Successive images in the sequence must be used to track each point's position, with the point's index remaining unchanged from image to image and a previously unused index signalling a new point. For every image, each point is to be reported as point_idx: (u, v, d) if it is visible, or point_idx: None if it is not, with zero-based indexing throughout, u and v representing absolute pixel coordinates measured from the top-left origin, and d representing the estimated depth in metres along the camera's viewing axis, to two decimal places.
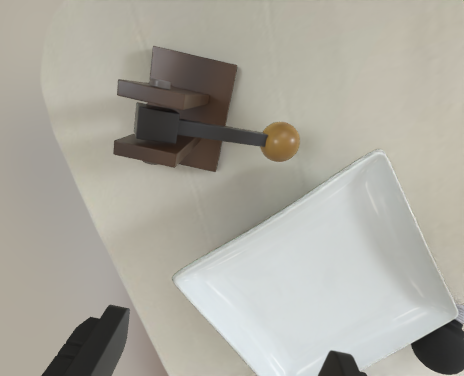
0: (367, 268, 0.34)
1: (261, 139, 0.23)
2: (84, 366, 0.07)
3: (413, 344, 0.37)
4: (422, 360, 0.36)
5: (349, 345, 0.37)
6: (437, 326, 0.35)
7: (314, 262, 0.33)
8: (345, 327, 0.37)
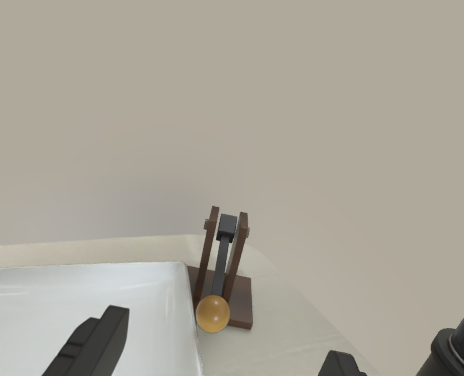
0: None
1: (217, 291, 0.29)
2: (84, 366, 0.07)
3: None
4: None
5: None
6: None
7: None
8: None
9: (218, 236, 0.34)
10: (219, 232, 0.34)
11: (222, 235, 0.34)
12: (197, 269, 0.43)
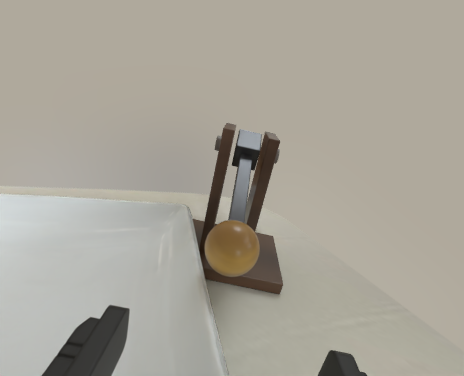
0: None
1: (238, 217, 0.18)
2: (84, 366, 0.07)
3: None
4: None
5: None
6: None
7: (17, 360, 0.13)
8: None
9: (235, 158, 0.24)
10: (237, 150, 0.23)
11: (241, 154, 0.24)
12: (203, 223, 0.32)
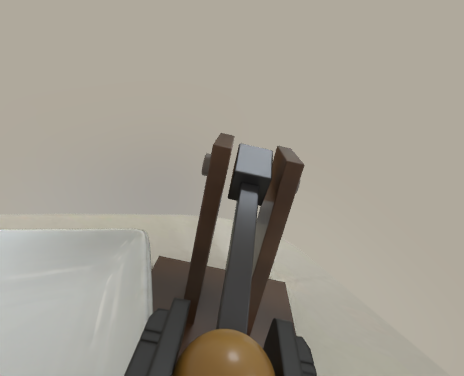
0: None
1: (236, 315, 0.10)
2: (168, 349, 0.08)
3: None
4: None
5: None
6: None
7: None
8: None
9: (233, 188, 0.16)
10: (236, 177, 0.15)
11: (243, 184, 0.15)
12: None
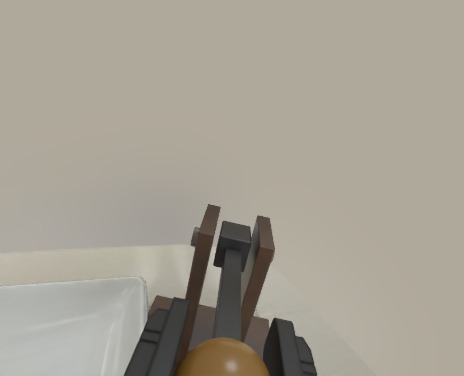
0: None
1: (229, 334, 0.11)
2: (168, 349, 0.08)
3: None
4: None
5: None
6: None
7: None
8: None
9: (219, 254, 0.18)
10: (221, 242, 0.18)
11: (227, 248, 0.18)
12: None
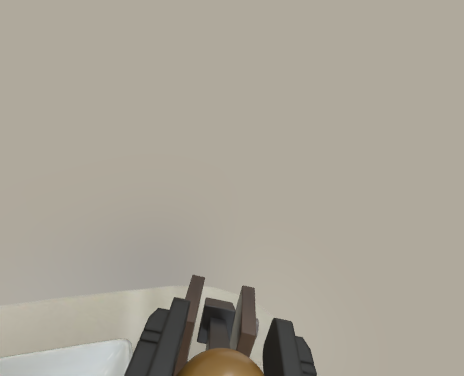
0: None
1: None
2: (168, 349, 0.08)
3: None
4: None
5: None
6: None
7: None
8: None
9: (203, 326, 0.18)
10: (206, 311, 0.18)
11: (212, 318, 0.18)
12: None
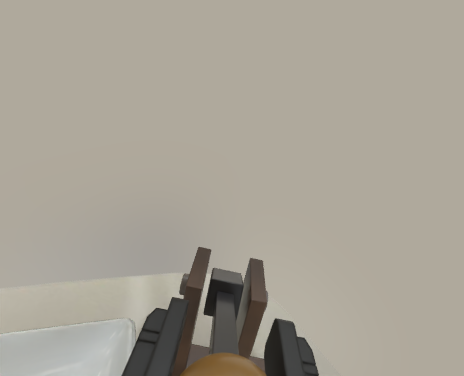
0: None
1: None
2: (166, 349, 0.08)
3: None
4: None
5: None
6: None
7: None
8: None
9: (209, 299, 0.17)
10: (213, 285, 0.17)
11: (218, 292, 0.17)
12: None
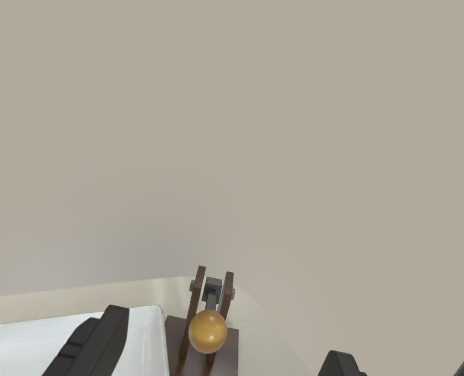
0: None
1: None
2: (84, 366, 0.07)
3: None
4: None
5: None
6: None
7: None
8: None
9: (205, 293, 0.34)
10: (206, 286, 0.34)
11: (209, 289, 0.34)
12: (185, 321, 0.43)
